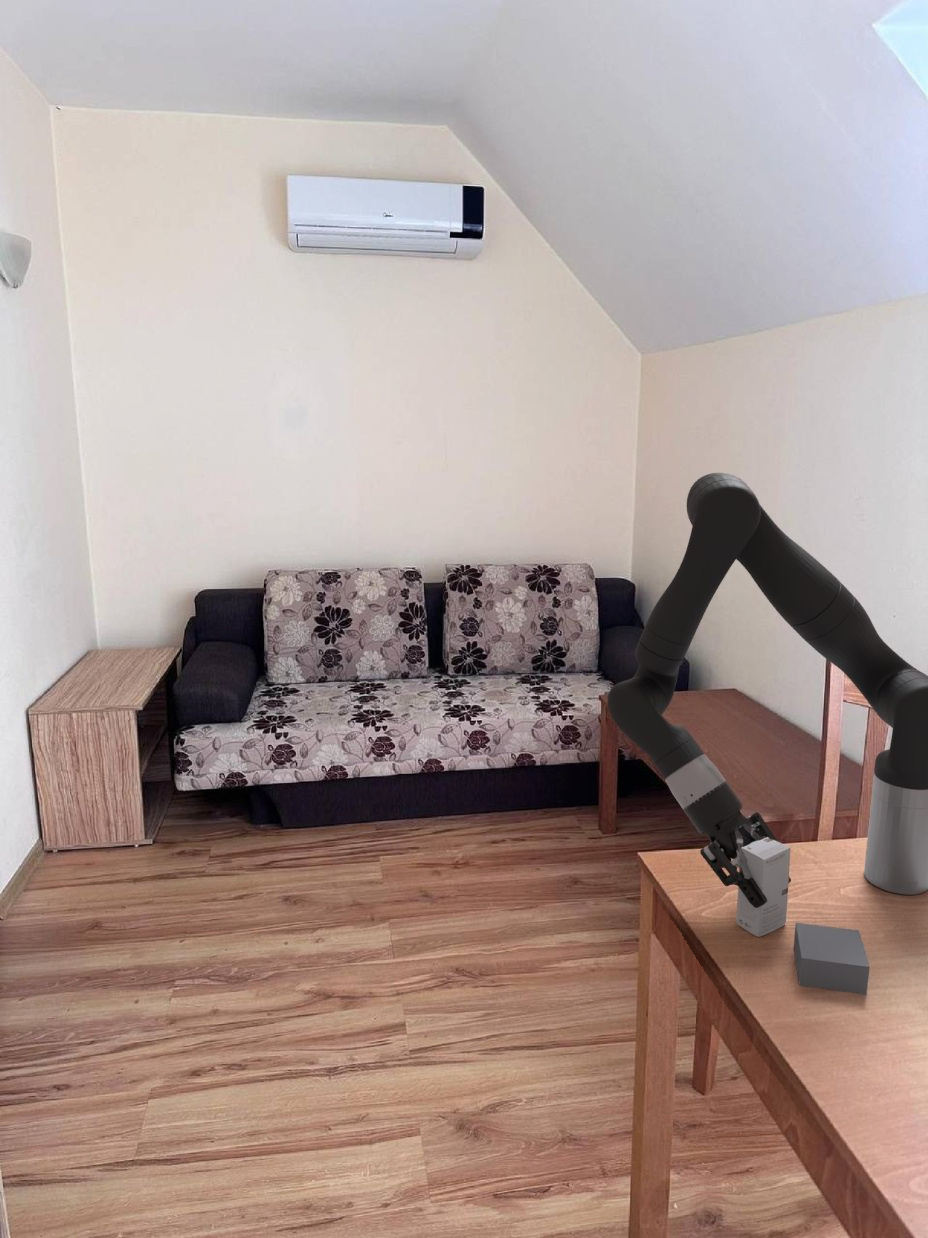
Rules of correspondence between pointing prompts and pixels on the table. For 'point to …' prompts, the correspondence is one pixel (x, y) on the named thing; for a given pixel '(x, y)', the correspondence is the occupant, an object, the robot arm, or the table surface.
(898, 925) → the table surface
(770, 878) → the skincare box
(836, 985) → the charcoal plinth
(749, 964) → the table surface
